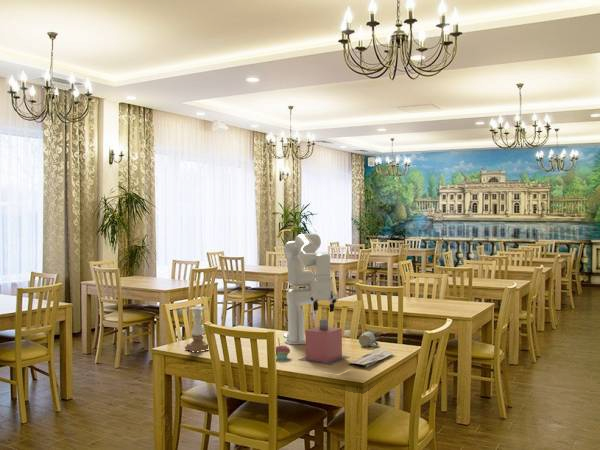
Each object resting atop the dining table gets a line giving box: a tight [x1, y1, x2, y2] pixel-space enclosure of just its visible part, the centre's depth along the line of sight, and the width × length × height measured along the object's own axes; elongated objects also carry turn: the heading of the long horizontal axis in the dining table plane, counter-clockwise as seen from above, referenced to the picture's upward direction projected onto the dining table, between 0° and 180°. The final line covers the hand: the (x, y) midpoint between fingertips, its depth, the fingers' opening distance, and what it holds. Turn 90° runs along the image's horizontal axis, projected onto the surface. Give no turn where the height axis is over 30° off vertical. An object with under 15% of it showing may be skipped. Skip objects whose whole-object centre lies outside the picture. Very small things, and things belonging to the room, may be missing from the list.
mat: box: [297, 355, 350, 366], centre depth 304 cm, size 20×20×1 cm
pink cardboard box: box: [304, 318, 343, 363], centre depth 304 cm, size 13×14×20 cm
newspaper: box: [347, 349, 395, 369], centre depth 301 cm, size 35×12×4 cm, turn 150°
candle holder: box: [184, 305, 209, 352], centre depth 330 cm, size 11×11×24 cm
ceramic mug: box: [358, 331, 380, 348], centre depth 335 cm, size 11×8×8 cm
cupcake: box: [275, 337, 291, 360], centre depth 306 cm, size 9×8×12 cm
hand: (323, 310), depth 304 cm, fingers open, 9 cm apart
